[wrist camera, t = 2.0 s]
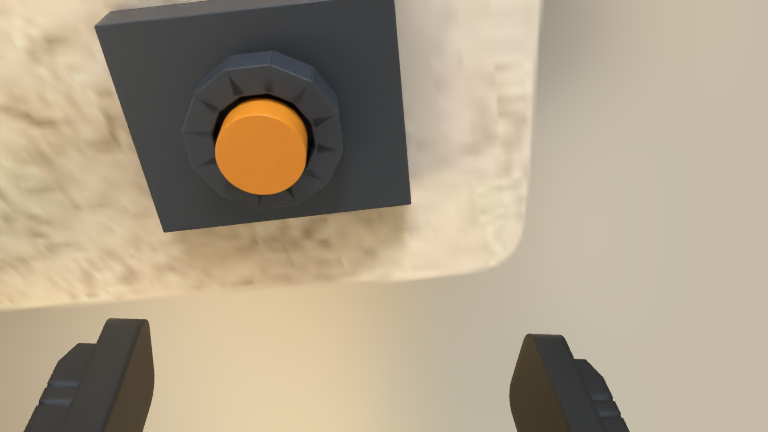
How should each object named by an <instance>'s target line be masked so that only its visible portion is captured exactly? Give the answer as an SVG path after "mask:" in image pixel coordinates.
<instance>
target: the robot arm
mask: <svg viewBox="0 0 768 432" xmlns="http://www.w3.org/2000/svg"><path fill="white" fill-rule="evenodd" d="M47 384H48V385H47V388H45V389H44V392H43V394H42V396H41V398H40V400H39V404H38V406H36V408H35V410H34V412H33V414H32V416H31V418H30V420H29V422H28V424H27V426H26V428H25V430H24V432H143V428H144V425H145V422H146V418H147V415H148V412H149V408H150V405H151V401H152V396H153V389H154V366H153V356H152V346H151V336H150V327H149V322H148V320H146V319H118V318H109V319H108V320H107V321H106V323H105V325H104V327H103V330H102V332H101V334H100V336H99V339H98V341H97V343H96V344H90V343H78V344H77V345H76V346H75V347H73V348H72V349H71V350H70V351H69V352H68V353H67V354H66V355H65V356H64V357H63V358H61V359H60V360H59V361H58V363H57V365H56V367H55V369H54V371H53V373H52V375H51V377H50V379H49V381H48V383H47ZM509 396H510V407H511V412H512V415H513V418H514V422H515V425H516V428H517V432H630V431H629V430H628V427H627V425H626V423H625V421H624V419H623V418H621V413H620V411H619V409H618V407H617V405H616V403H615V401H613V397H612V395H611V392H610V390H609V389H608V387H607V384H606V382H605V380H604V378H603V377H602V376H601V375H600V374H599V373H598V372H597V371H596V370H595V369H594V368H593V367H592V366H591V364H590V363H588V362H587V360H586V359H585V360H584V359H574V357H573V355H572V353H571V351H570V348H569V346H568V344H567V342H566V340H565V338H564V337H563V336H562V335H547V334H527V335H526V336H525V338H524V341H523V344H522V347H521V350H520V353H519V357H518V360H517V363H516V367H515V370H514V373H513V377H512V380H511V384H510V394H509Z"/></svg>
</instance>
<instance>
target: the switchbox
mask: <svg viewBox="0 0 768 432" xmlns="http://www.w3.org/2000/svg"><path fill="white" fill-rule="evenodd" d="M95 30H96V33H97V36H98V39H99V42H100V45H101V48H102V51H103V54H104V57H105V60H106V63H107V66H108V69H109V71H110V74H111V77H112V80H113V83H114V86H115V89H116V92H117V95H118V98H119V101H120V104H121V107H122V110H123V113H124V116H125V119H126V122H127V125H128V128H129V131H130V134H131V137H132V140H133V143H134V145H135V148H136V151H137V154H138V157H139V160H140V163H141V166H142V169H143V172H144V175H145V178H146V181H147V184H148V187H149V190H150V193H151V196H152V199H153V202H154V205H155V208H156V211H157V214H158V217H159V219H160V222H161V225H162V228H163V231H164V232H174V231H183V230H191V229H200V228H209V227H217V226H226V225H235V224H244V223H252V222H261V221H270V220H278V219H287V218H296V217H305V216H313V215H322V214H331V213H339V212H348V211H357V210H366V209H374V208H383V207H392V206H400V205H409V204H411V195H410V183H409V171H408V159H407V147H406V135H405V123H404V111H403V99H402V87H401V75H400V63H399V51H398V39H397V27H396V15H395V3H394V0H208V1H200V2H191V3H182V4H173V5H164V6H155V7H146V8H138V9H129V10H120V11H111V12H109V13H108V14H107V15H106V16H105V17H104V18H103V19H102V20H101V21H100V22H98V23H97V24H96V25H95ZM253 98H270V99H275V100H278V101H280V102H283V103H285V104H286V105H288V106H290V107H291V108H292V109H293V110H295V111H296V112H297V113H298V115H299V116H300V117H301V119H302V120H303V122H304V124H305V127H306V130H307V135H308V145H307V157H306V165H305V168H304V171H303V173H302V175H301V176H300V178H299V179H298V180H297V181H296V182H295V183H294V184H293V185H292V186H291V187H289V188H287V189H286V190H284V191H281V192H278V193H275V194H269V195H259V194H252V193H249V192H246V191H243V190H241V189H239V188H237V187H236V186H234V185H233V184H231V183H230V182H229V181H228V180H227V179H226V178H225V177H224V175H223V174H222V172H221V171H220V169H219V167H218V165H217V162H216V157H215V146H216V142H217V138H218V135H219V133H220V130H221V127H222V124H223V122H224V119H225V117H226V116H227V114H228V113H229V112H230V111H231V109H233V108H234V107H235V106H236V105H238V104H239V103H241V102H243V101H246V100H249V99H253Z"/></svg>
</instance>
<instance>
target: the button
mask: <svg viewBox="0 0 768 432" xmlns="http://www.w3.org/2000/svg"><path fill="white" fill-rule="evenodd" d="M307 145H308V135H307V130H306V127H305V124H304V122H303V120H302V119H301V117H300V116H299V115H298V113H297V112H296V111H295V110H293V109H292V108H291V107H290V106H288V105H286V104H285V103H283V102H280V101H278V100H275V99H270V98H253V99H249V100H246V101H243V102H241V103H239V104H238V105H236V106H235V107H234V108H233V109H231V111H230V112H229V113H228V114H227V116H226V117H225V119H224V122H223V124H222V127H221V130H220V133H219V135H218V138H217V142H216V146H215V157H216V162H217V165H218V167H219V169H220V171H221V172H222V174H223V175H224V177H225V178H226V179H227V180H228V181H229V182H230V183H231V184H233V185H234V186H236V187H237V188H239V189H241V190H243V191H246V192H249V193H252V194H259V195H269V194H275V193H278V192H281V191H284V190H286V189H287V188H289V187H291V186H292V185H293V184H294V183H295V182H296V181H297V180H298V179H299V178H300V176H301V175H302V173H303V171H304V168H305V165H306V157H307Z"/></svg>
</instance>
